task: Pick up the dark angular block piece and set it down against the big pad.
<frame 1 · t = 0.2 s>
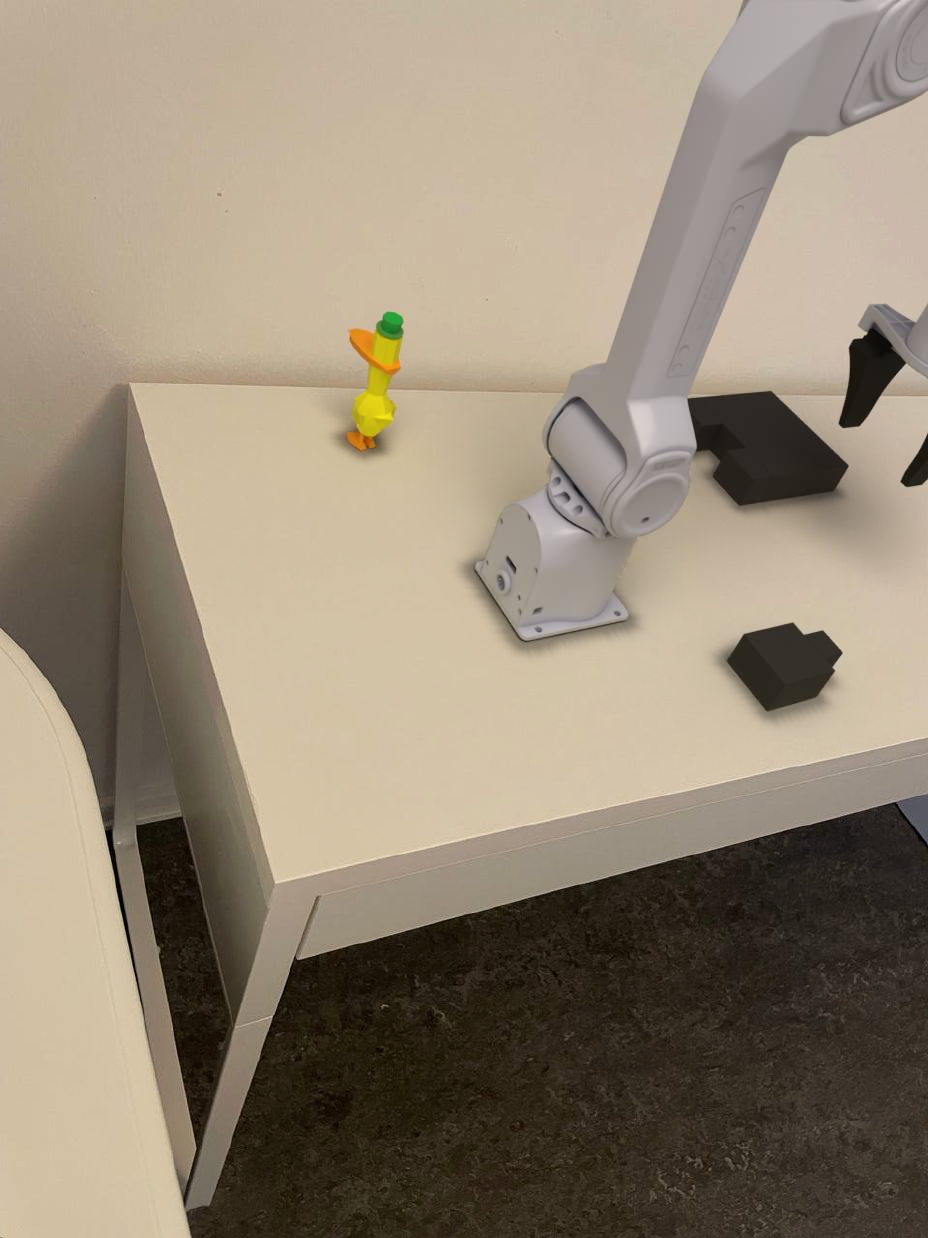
hand: (879, 453, 84), 10 cm above the table, tool pointing down, fingers open, 7 cm apart
dark angular block piece: (771, 679, 77), on the table
toy figure: (359, 442, 85), on the table
big pad: (749, 457, 98), on the table
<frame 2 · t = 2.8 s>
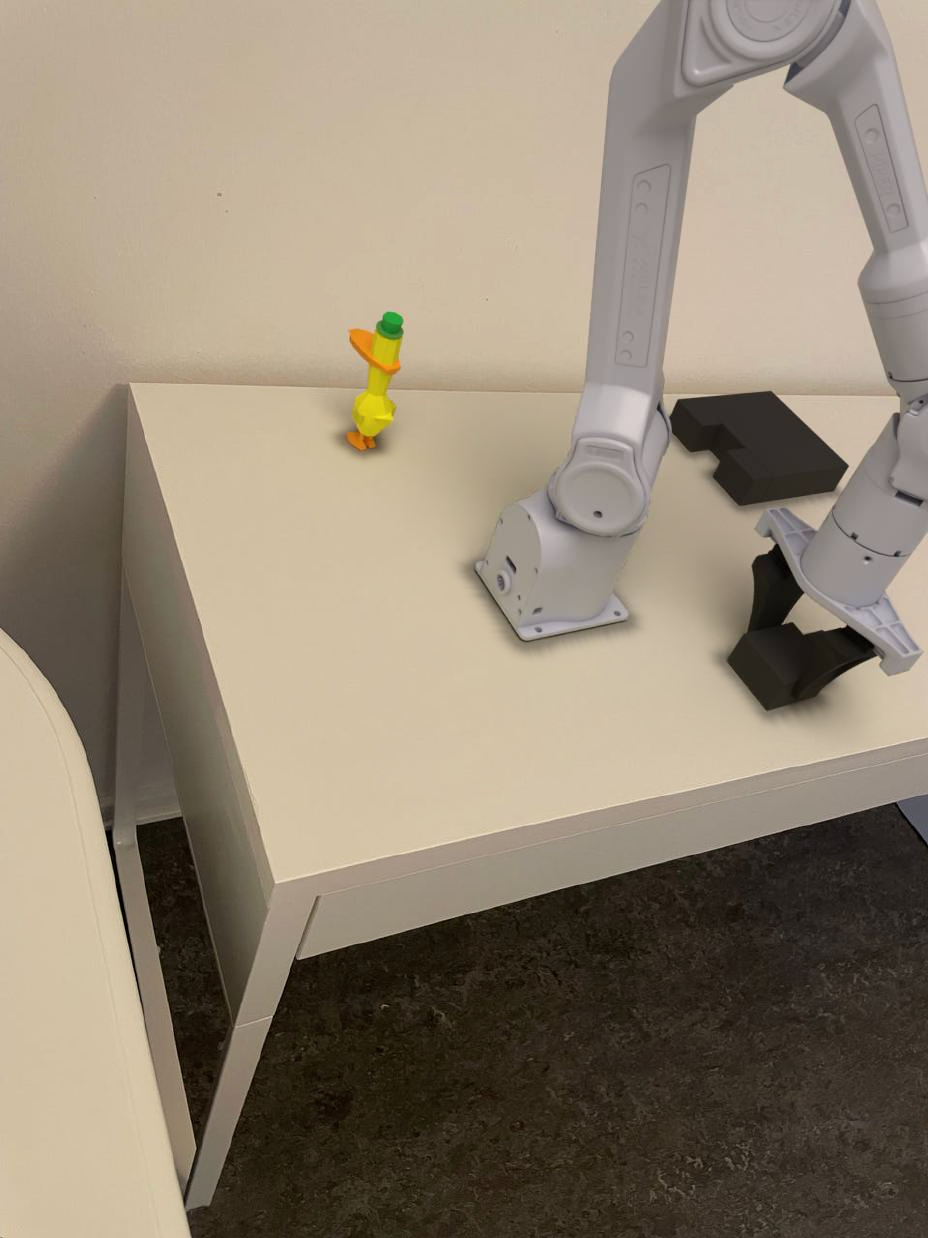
hand: (779, 666, 76), 1 cm above the table, tool pointing down, fingers closed on dark angular block piece, 5 cm apart
dark angular block piece: (771, 678, 77), on the table, touching gripper
everything else where it was.
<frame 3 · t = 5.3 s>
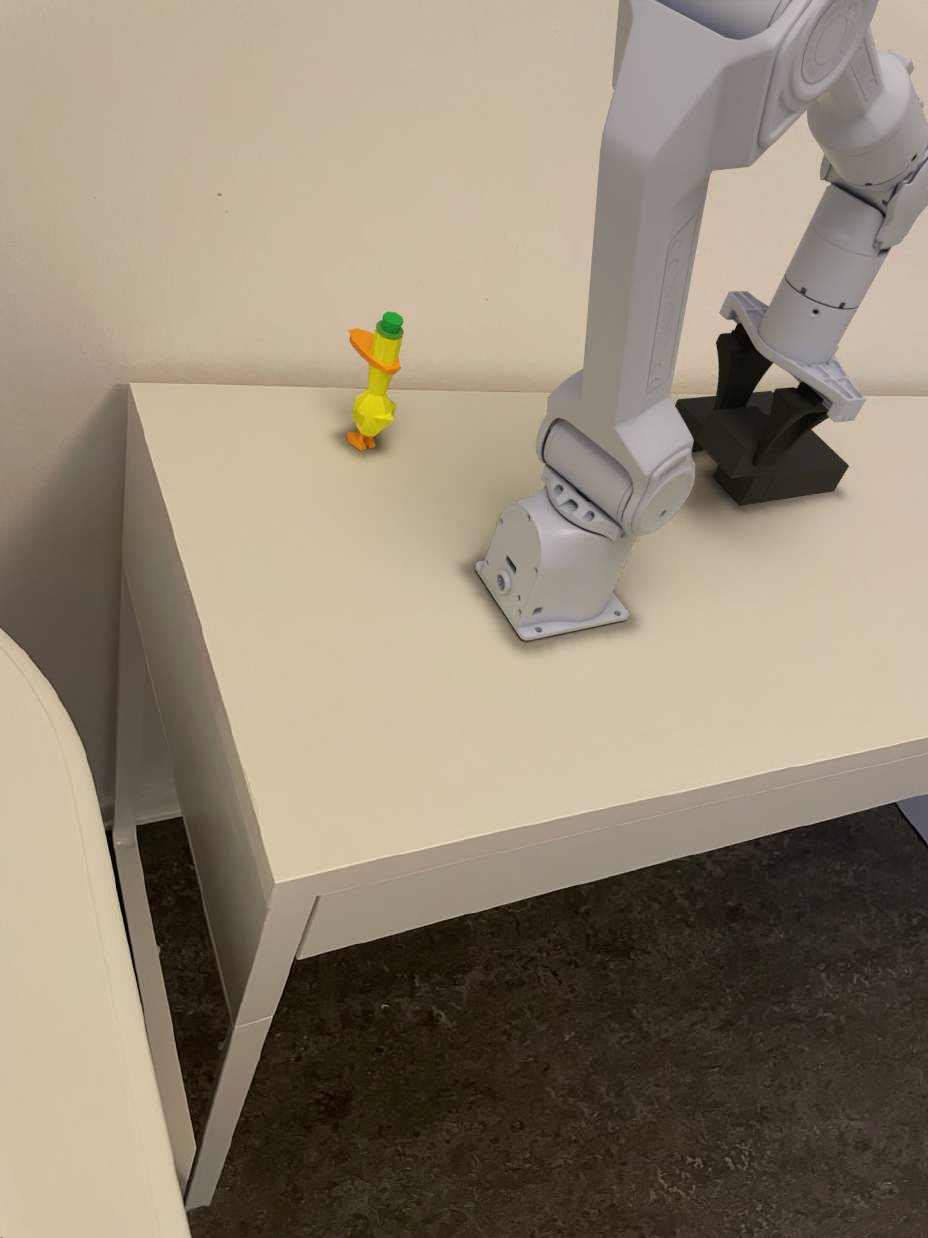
hand: (742, 442, 83), 8 cm above the table, tool pointing down, fingers closed on dark angular block piece, 5 cm apart
dark angular block piece: (736, 456, 84), point 7 cm above the table, touching gripper
everything else where it was.
when the fingers open (1 cm above the table, at t = 8.1 s): dark angular block piece stays where it is, on the table.
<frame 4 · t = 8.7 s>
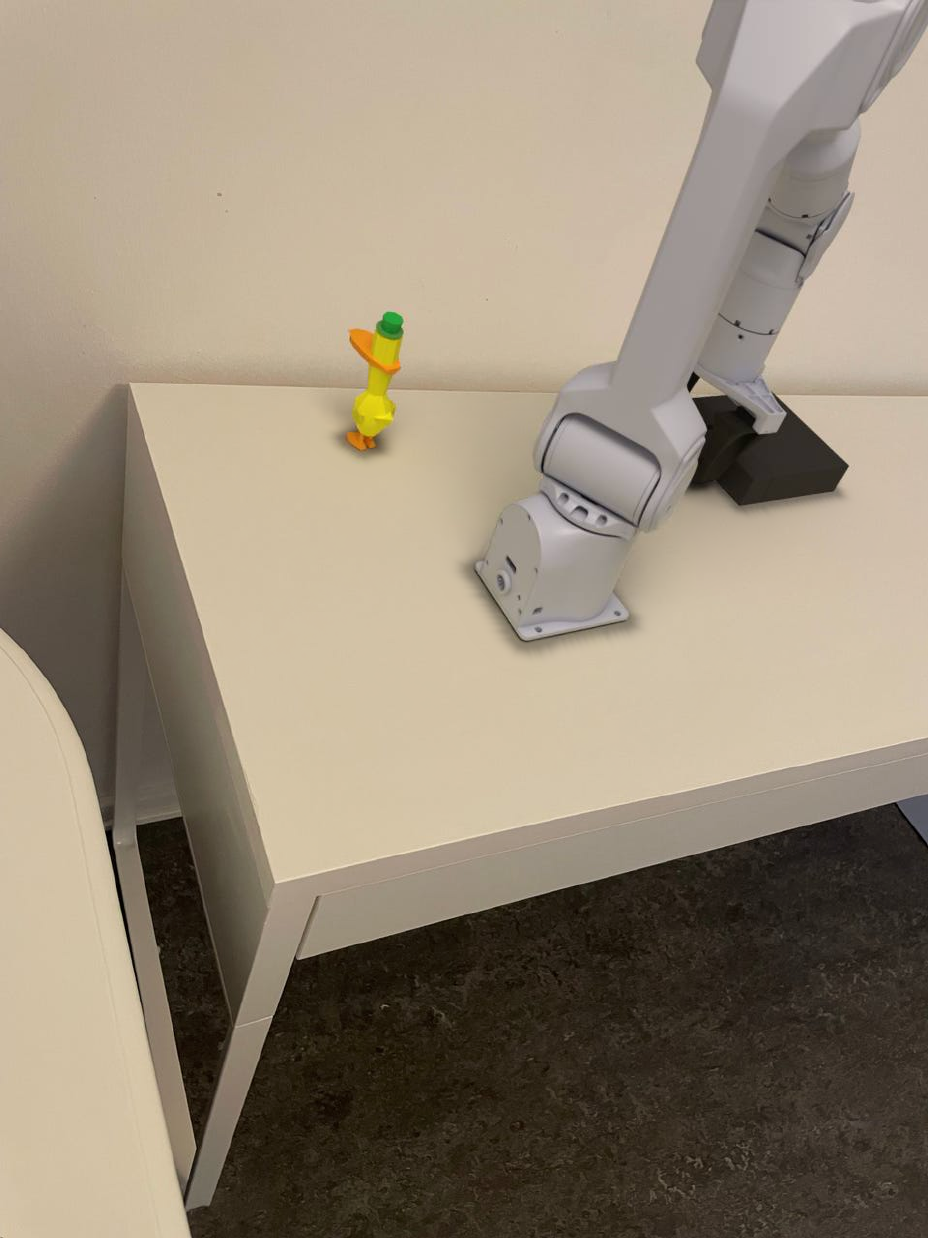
hand: (683, 451, 92), 2 cm above the table, tool pointing down, fingers open, 7 cm apart
dark angular block piece: (676, 466, 94), on the table
everything else where it was.
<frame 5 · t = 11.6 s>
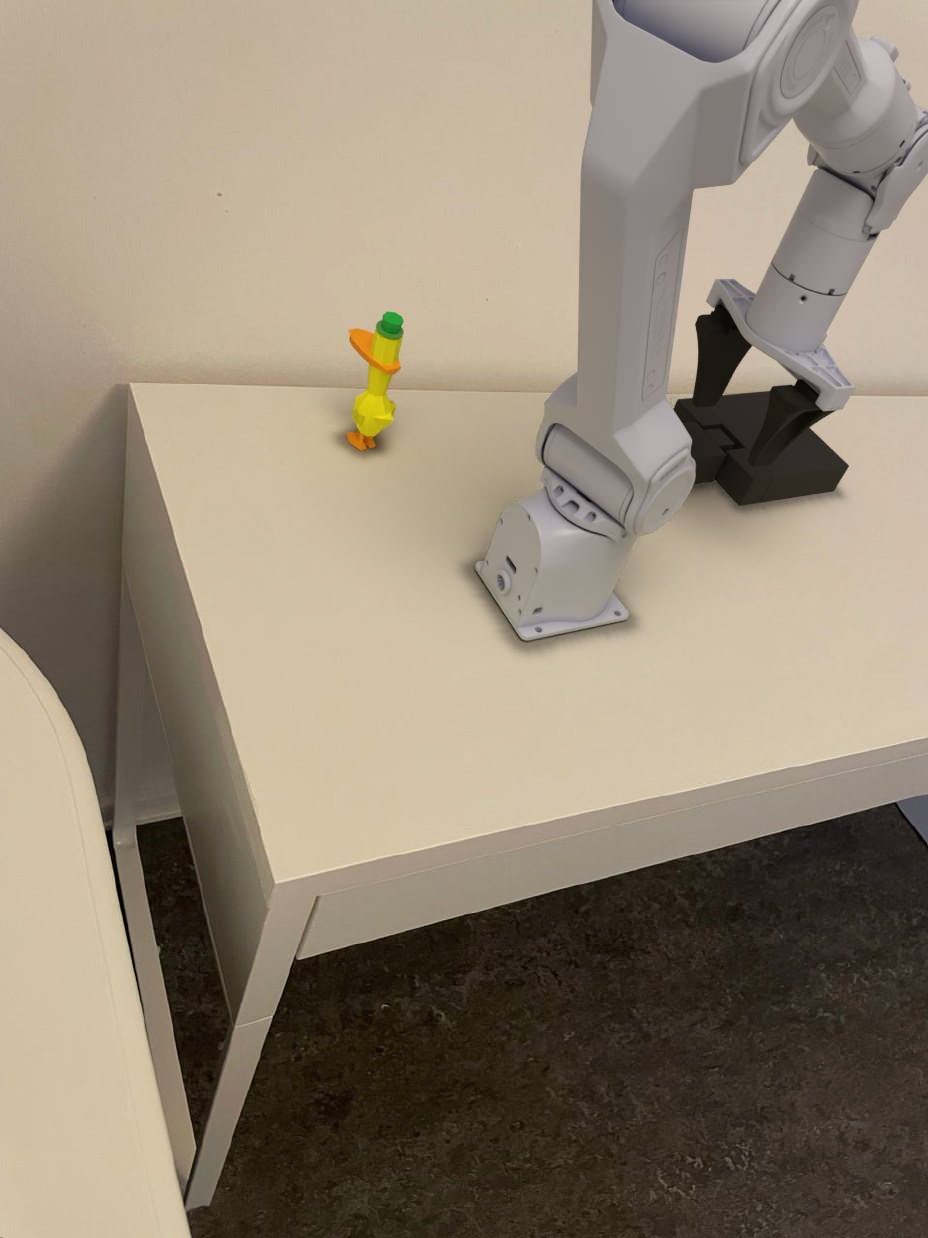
hand: (730, 433, 81), 9 cm above the table, tool pointing down, fingers open, 7 cm apart
nothing on the table moved.
at the end: dark angular block piece 0.0 cm from the target spot on the table beside the big pad, on the table; dark angular block piece tilted 0°; the gripper is holding nothing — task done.
